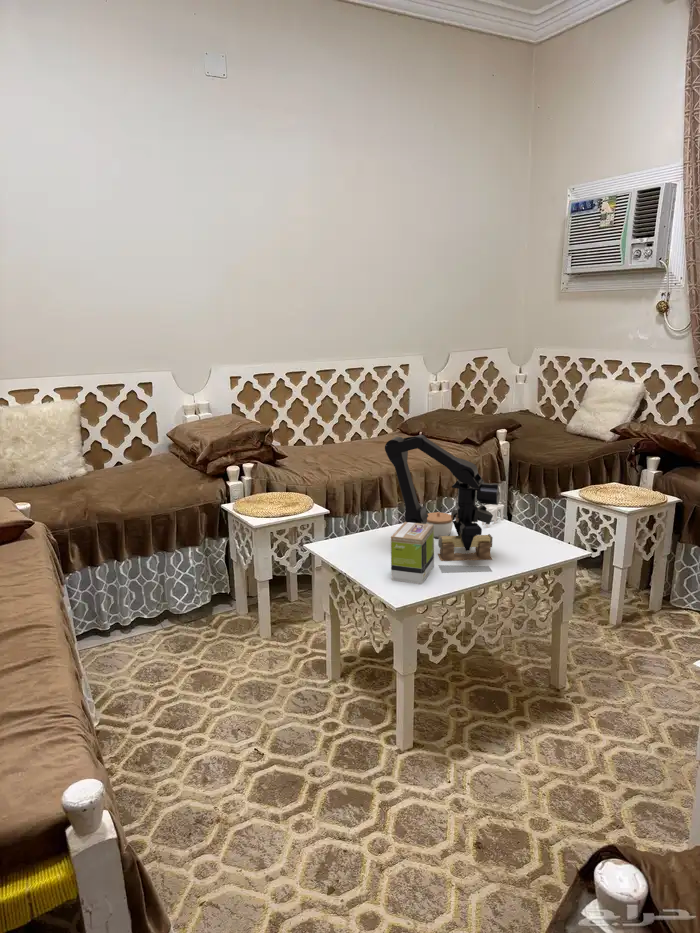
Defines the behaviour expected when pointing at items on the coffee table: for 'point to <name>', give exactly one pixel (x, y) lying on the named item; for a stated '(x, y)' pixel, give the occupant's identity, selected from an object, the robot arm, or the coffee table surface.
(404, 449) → the robot arm
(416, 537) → the tea box
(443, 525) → the lidded jar
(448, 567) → the mat
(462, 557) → the stand
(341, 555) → the coffee table surface
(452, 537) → the rail
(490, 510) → the skeletal toy car
